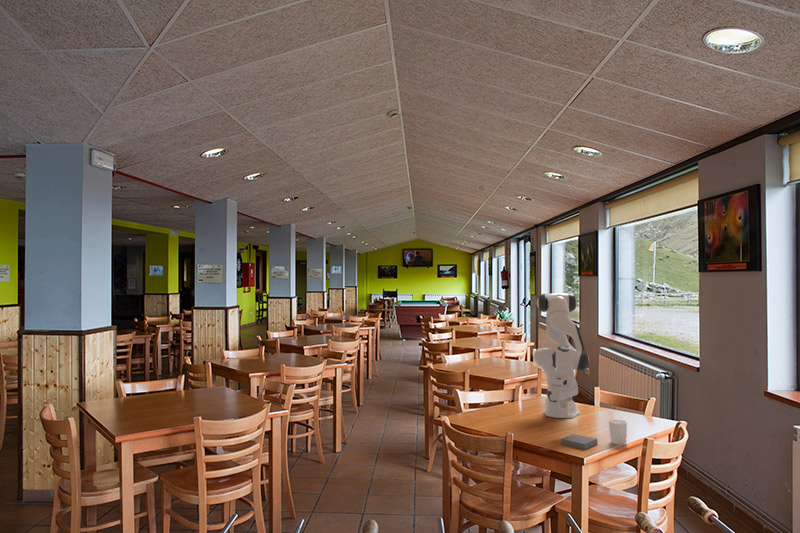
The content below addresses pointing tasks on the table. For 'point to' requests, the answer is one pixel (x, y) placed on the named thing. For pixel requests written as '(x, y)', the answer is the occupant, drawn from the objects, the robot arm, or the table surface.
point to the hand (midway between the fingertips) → (565, 406)
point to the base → (579, 441)
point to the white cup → (618, 431)
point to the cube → (567, 405)
